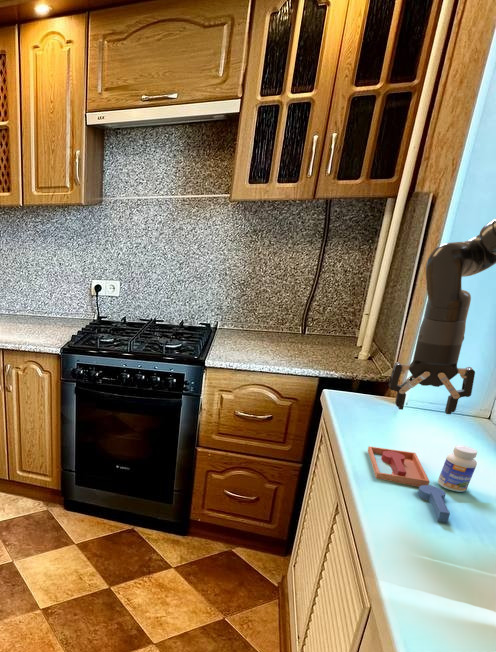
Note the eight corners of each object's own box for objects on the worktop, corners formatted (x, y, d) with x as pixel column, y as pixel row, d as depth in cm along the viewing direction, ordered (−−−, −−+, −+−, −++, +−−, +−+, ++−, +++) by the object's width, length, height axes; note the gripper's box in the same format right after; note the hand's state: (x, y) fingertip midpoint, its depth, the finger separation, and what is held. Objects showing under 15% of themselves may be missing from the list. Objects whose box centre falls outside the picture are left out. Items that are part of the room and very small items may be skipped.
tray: (367, 453, 140) (368, 446, 139) (413, 459, 135) (415, 452, 135) (375, 480, 126) (377, 472, 125) (427, 488, 122) (429, 481, 121)
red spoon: (379, 455, 137) (381, 447, 136) (401, 458, 135) (403, 450, 134) (388, 478, 126) (390, 469, 125) (412, 482, 124) (414, 473, 123)
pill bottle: (444, 490, 121) (458, 453, 117) (432, 478, 125) (446, 442, 122) (471, 494, 119) (486, 456, 116) (459, 481, 124) (473, 445, 121)
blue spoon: (415, 490, 121) (417, 481, 121) (440, 494, 119) (443, 485, 119) (428, 519, 110) (431, 510, 109) (456, 525, 108) (459, 515, 107)
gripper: (478, 337, 111) (460, 409, 117) (396, 333, 118) (383, 401, 123) (487, 346, 105) (468, 421, 110) (401, 341, 111) (386, 412, 117)
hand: (423, 410), depth 117 cm, fingers open, 8 cm apart
